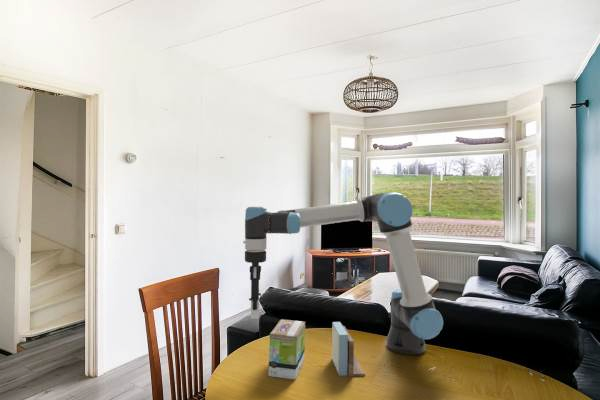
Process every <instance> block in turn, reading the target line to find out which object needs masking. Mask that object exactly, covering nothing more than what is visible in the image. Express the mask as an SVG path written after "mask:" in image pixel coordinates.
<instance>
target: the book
mask: <svg viewBox="0 0 600 400" xmlns="http://www.w3.org/2000/svg"><path fill="white" fill-rule="evenodd" d="M331 324H332V325H331V326H332V327H331V328H332V332H331V334H332V337H331V343H332V344H331V360H332V362H333V365H334V368H335V367H336V368H335V369H336V370H335V371H336V373H337V374H338V377H340V376H348V373H347V364H348V334H347V332H346V331H345V329H344V327H343V326H344V325H343V324H342V323H341V321H333V322H332V323H331Z"/></svg>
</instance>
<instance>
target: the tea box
mask: <svg viewBox="0 0 600 400" xmlns="http://www.w3.org/2000/svg"><path fill="white" fill-rule="evenodd" d="M305 343H306V321H302V320H301V321H300V320H291V319H280V320H279V321H278V322H277V324H276V326H275V327H274V328H273V329H272V331H271V332H270V333H269V347H268V348H269V349H268V350H269V351H268V354H269V356H268V376H269V377H274V378H279V379H288V380H296V379H297V377H298V375H299V372H300V371H301V368H302V366H303V363H304V361H305V346H306V345H305Z"/></svg>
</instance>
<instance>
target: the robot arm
mask: <svg viewBox="0 0 600 400" xmlns="http://www.w3.org/2000/svg"><path fill="white" fill-rule="evenodd" d="M412 215H413V206H412V203H411V201H410V199H409V198H407V196H405V195H404V194H401V193H399V192H396V191H395V192H394V191H390V192H379V193H376V194H373V195H369V196H363V197H358V198H357V199H356V200H355V201H354V200H353V201H347V202H338V203H331V204H325V205H317V206H311V207H303V208H295V209H287V210H279V211H277V212H271V211H268V209H267V207H266V206H248V207H247V208H246V209H245V215H244V216H245V217H244V238H245V239H244V240H243V244H245V245H244V249H245V250H244V261H245V262H246V263H249V264H250V263H251V265H250V266H249V274H250V275H249V280H250V287H251V288H250V298H249V297H248V300H249V301H250V319H252V320H253V319H254V320H256V319H257V320H258V319H259V318H260V316H259V315H260V296H261V295H262V294H261V293H260V280H261V272H262V265H260V263H265V262H266V261H267V251H266V250H267V241H268V240H267V238H268V237H267V234H269V235H270V234H286V235H288V234H289V235H292V234H299V233H300V231H301V228H308V227H315V226H316V227H317V226H322V225H323V226H324V225H329V224H335V223H336V224H337V223H342V222H343V223H344V222H351V221H360V222H361V223H363V222H376V223H377V224H378V228H379V229H378V230H379V232H380V234H382V235H384V236H385V238H386V242H387V245H388V250H389V252H390V257H391V261H392V263H393V267H394V270H395V274H396V278H397V281H398V286H399V289H395V290H393V291H391V296H390V307H391V309H390V312H391V313H390V315H391V317H390V328H389V332H388V334H387V337H386V347H387V348H388V349H389V350H390V351H392V352H394V353H398V354H401V355H407V356H415V355H416V356H417V355H421V354H424V353H425V351H426V342H425V340H431V339H433V338H436V337H437V336H438V335H439V334H440V332H441V331H442V329H443V327H444V319H443V316H442V314H441V312H440V311H438V309H436V307H435V304H434V300H433V299H434V298H433V296H432V295H431V294H430V293H428V292H427V291H426V290H427V289H426V287H425V283H424V280H423V275H422V272H421V268H420V265H419V262H418V259H417V254H416V251H415V247H414V243H413V240H412V236H411V232H410V230H411V228H412V227H413V222H412Z"/></svg>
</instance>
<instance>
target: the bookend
mask: <svg viewBox="0 0 600 400" xmlns="http://www.w3.org/2000/svg"><path fill="white" fill-rule="evenodd" d="M342 326H343V327H344V329H345V331H346V332H347V334H348V364H347V376H348V377H351V378H352V377H365V376H366V374H365V371H364V369H363V368H362V365H361V363H360V362H359V360H358V359H357V357H356V355H355V353H354V352H355V351H354V350H355V341H354V340H353V339H354V338H352V336H351V334H350V333H349V331H348V329H347V328H346V326H345V325H342Z"/></svg>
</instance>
